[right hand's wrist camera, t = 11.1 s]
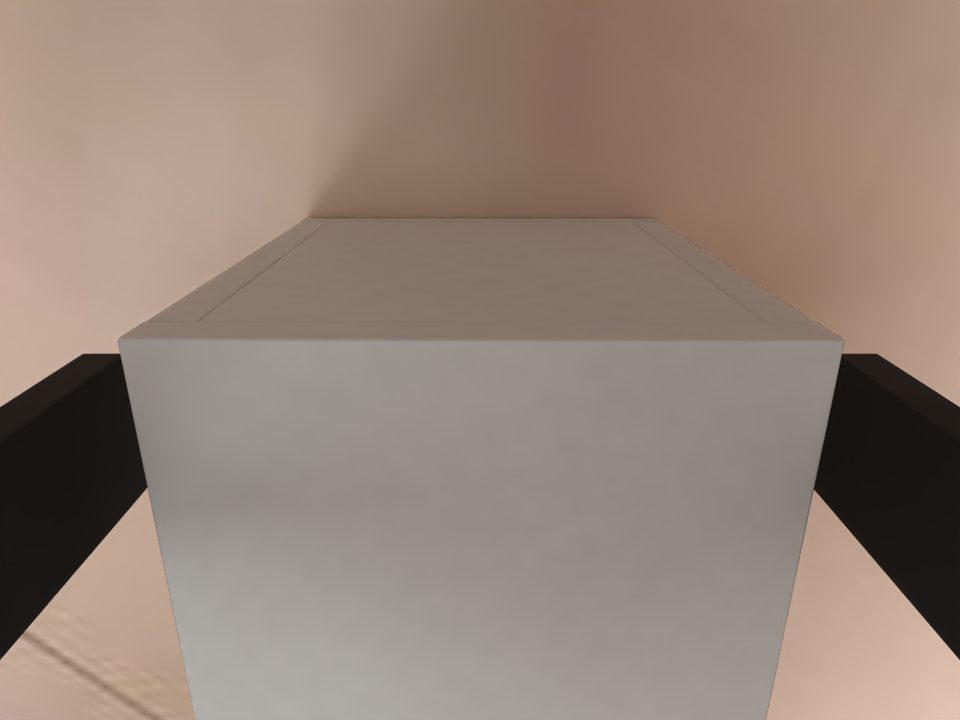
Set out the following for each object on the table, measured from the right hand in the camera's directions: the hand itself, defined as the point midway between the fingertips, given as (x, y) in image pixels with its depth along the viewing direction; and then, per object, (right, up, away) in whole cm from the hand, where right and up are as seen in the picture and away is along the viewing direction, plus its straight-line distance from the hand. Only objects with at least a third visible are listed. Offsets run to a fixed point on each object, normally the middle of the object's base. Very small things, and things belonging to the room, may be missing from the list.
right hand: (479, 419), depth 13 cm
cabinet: (0, -5, +11) cm, 12 cm away
